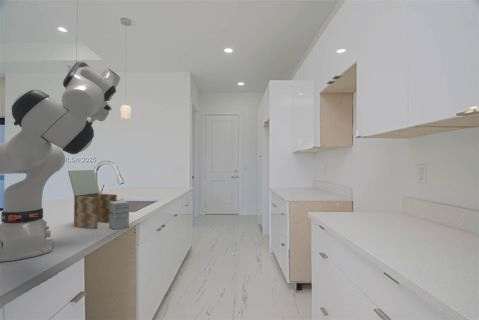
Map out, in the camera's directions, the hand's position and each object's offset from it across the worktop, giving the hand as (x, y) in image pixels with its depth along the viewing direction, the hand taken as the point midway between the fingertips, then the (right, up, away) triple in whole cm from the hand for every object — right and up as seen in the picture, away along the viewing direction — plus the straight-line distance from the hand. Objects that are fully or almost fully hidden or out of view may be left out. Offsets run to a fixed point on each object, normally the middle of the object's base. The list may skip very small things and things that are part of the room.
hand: (77, 121), depth 122 cm
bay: (+1, -52, +10) cm, 53 cm away
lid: (-4, -31, +12) cm, 33 cm away
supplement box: (+18, -53, +5) cm, 56 cm away
